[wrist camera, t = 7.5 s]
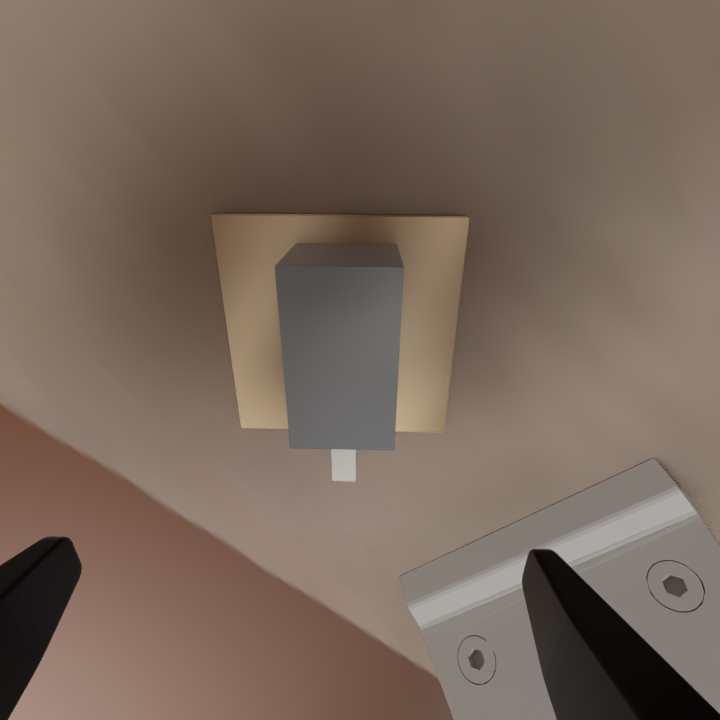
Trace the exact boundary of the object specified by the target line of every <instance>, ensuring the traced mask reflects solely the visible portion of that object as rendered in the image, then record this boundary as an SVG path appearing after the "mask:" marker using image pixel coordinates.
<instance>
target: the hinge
mask: <svg viewBox="0 0 720 720" xmlns="http://www.w3.org/2000/svg"><path fill="white" fill-rule="evenodd" d="M531 549H551V550H553V551H554V552H556V553H557V554H558V555H559V556H560V557H561V558H562V559H563V560H564V561H565V562H566V563H567V564H568V565H569V566H570V567H571V568H572V569H573V570H574V571H575V572H576V573H577V574H578V575H579V576H580V577H581V578H582V579H583V580H584V581H585V582H586V583H587V584H589V585H590V586H591V587H592V588H593V589H594V590H595V591H596V592H597V593H598V594H599V595H600V596H601V597H602V598H603V599H604V600H605V601H606V602H607V603H608V604H609V605H610V606H611V607H612V608H613V609H614V610H615V611H616V612H617V613H618V614H619V615H620V616H621V617H622V618H623V619H624V620H625V621H626V622H627V623H628V624H629V625H630V626H631V627H632V628H633V629H634V630H635V631H636V632H637V633H638V634H639V635H640V636H641V637H642V638H643V639H644V640H645V641H646V642H647V643H648V644H649V645H650V646H651V647H652V648H654V649H655V650H656V651H657V652H658V653H659V654H660V655H661V656H662V657H663V658H664V659H665V660H666V661H667V662H668V663H669V664H670V665H671V666H672V667H673V668H674V669H675V670H676V671H677V672H678V673H679V674H680V675H681V676H682V677H683V678H684V679H685V680H686V681H687V682H688V683H689V684H690V685H691V686H692V687H693V688H694V689H695V690H696V691H697V692H698V693H699V694H700V695H701V696H702V697H703V698H704V699H705V700H706V701H707V702H708V703H709V704H710V705H711V706H712V707H713V708H714V709H715V710H716V711H717V712H719V713H720V543H719V542H718V540H717V539H716V537H715V536H714V534H713V533H712V531H711V530H710V528H709V527H708V525H707V524H706V522H705V520H704V519H703V517H702V516H701V514H700V513H699V511H698V510H697V508H696V507H695V505H694V504H693V502H692V501H691V499H690V498H689V496H688V495H687V494H686V493H685V492H684V491H683V490H682V489H681V488H680V487H679V486H678V485H677V484H676V483H675V482H674V481H673V479H672V478H671V477H670V476H669V475H668V473H667V472H666V471H665V470H664V469H663V468H662V466H661V465H660V464H659V463H658V462H657V461H656V460H655V459H654V458H652V459H650V460H648V461H646V462H644V463H642V464H640V465H637V466H635V467H633V468H631V469H629V470H627V471H625V472H622V473H620V474H618V475H616V476H614V477H612V478H609V479H607V480H605V481H603V482H601V483H599V484H597V485H594V486H592V487H590V488H588V489H586V490H584V491H582V492H579V493H577V494H575V495H573V496H571V497H569V498H567V499H564V500H562V501H560V502H558V503H556V504H554V505H552V506H549V507H547V508H545V509H543V510H541V511H539V512H536V513H534V514H532V515H530V516H528V517H526V518H524V519H521V520H519V521H517V522H515V523H513V524H511V525H509V526H506V527H504V528H502V529H500V530H498V531H496V532H494V533H491V534H489V535H487V536H485V537H483V538H481V539H479V540H476V541H474V542H472V543H470V544H468V545H466V546H463V547H461V548H459V549H457V550H455V551H453V552H451V553H448V554H446V555H444V556H442V557H440V558H438V559H436V560H433V561H431V562H429V563H427V564H425V565H423V566H421V567H418V568H416V569H414V570H412V571H410V572H408V573H406V574H403V575H401V576H400V579H401V583H402V587H403V592H404V596H405V600H406V603H407V606H408V608H409V610H410V612H411V613H412V615H413V617H414V618H415V620H416V622H417V623H418V625H419V627H420V629H421V632H422V634H423V637H424V640H425V642H426V645H427V648H428V651H429V653H430V656H431V659H432V661H433V664H434V667H435V670H436V672H437V675H438V678H439V681H440V683H441V686H442V689H443V691H444V694H445V697H446V699H447V702H448V705H449V708H450V710H451V713H452V716H453V719H454V720H557V719H556V716H555V713H554V710H553V707H552V704H551V701H550V698H549V695H548V692H547V688H546V685H545V682H544V678H543V674H542V670H541V666H540V662H539V658H538V654H537V649H536V645H535V641H534V636H533V632H532V628H531V623H530V619H529V615H528V610H527V606H526V601H525V597H524V593H523V588H522V576H523V572H524V568H525V564H526V560H527V557H528V553H529V551H530V550H531Z"/></svg>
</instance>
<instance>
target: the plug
mask: <svg viewBox="0 0 720 720" xmlns="http://www.w3.org/2000/svg"><path fill="white" fill-rule="evenodd" d="M275 277H276V289H277V300H278V312H279V324H280V335H281V347H282V359H283V371H284V382H285V394H286V406H287V418H288V429H289V441H290V448H301V449H331V454H332V481H356V467H357V450H394V448H395V429H396V410H397V391H398V372H399V353H400V334H401V315H402V296H403V277H404V266H403V263H402V259H401V256H400V253H399V249H398V246H397V244H340V243H296V244H295V245H294V246H293V247H292V248H291V249H290V250H289V251H288V252H287V253H286V254H285V256H284V257H283V258H282V259H281V260H280V261H279V262H278V263H277V264H276V265H275Z"/></svg>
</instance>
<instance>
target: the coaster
mask: <svg viewBox="0 0 720 720" xmlns="http://www.w3.org/2000/svg"><path fill="white" fill-rule="evenodd" d="M211 221H212V228H213V235H214V242H215V248H216V255H217V262H218V269H219V276H220V283H221V290H222V297H223V304H224V311H225V318H226V325H227V332H228V339H229V346H230V353H231V360H232V367H233V374H234V381H235V388H236V395H237V402H238V409H239V416H240V423H241V428H263V429H288V418H287V406H286V394H285V382H284V371H283V359H282V347H281V335H280V324H279V312H278V300H277V289H276V277H275V265H276V264H277V263H278V262H279V261H280V260H281V259H282V258H283V257H284V256H285V254H286V253H287V252H288V251H289V250H290V249H291V248H292V247H293V246H294V245H295V244H296V243H340V244H397V246H398V249H399V253H400V256H401V259H402V263H403V266H404V277H403V296H402V315H401V334H400V353H399V372H398V391H397V410H396V429H395V431H399V432H444V429H445V421H446V412H447V404H448V395H449V387H450V378H451V370H452V362H453V353H454V345H455V336H456V328H457V319H458V311H459V303H460V294H461V286H462V277H463V269H464V260H465V252H466V243H467V235H468V227H469V217H467V216H418V215H331V214H243V213H215V214H212V215H211Z"/></svg>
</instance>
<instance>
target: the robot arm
mask: <svg viewBox="0 0 720 720" xmlns="http://www.w3.org/2000/svg"><path fill="white" fill-rule="evenodd" d="M81 569H82V566H81V562H80V559H79V557H78V555H77V552H76V550H75V548H74V545H73V543H72V541H71V540H70V539H69V538H68V537H55V536H51V537H45V538H43V539H41V540H39V541H38V542H36V543H35V544H33V545H31V546H30V547H29V548H27V549H25V550H24V551H22V552H20V553H19V554H18V555H16V556H14V557H13V558H11V559H10V560H8V561H7V562H5V563H3V564H2V565H0V720H8V719H9V717H10V715H11V713H12V712H13V710H14V708H15V706H16V705H17V703H18V701H19V699H20V697H21V696H22V694H23V692H24V690H25V689H26V687H27V685H28V683H29V682H30V680H31V678H32V676H33V674H34V673H35V671H36V669H37V667H38V665H39V663H40V661H41V659H42V657H43V655H44V653H45V651H46V649H47V647H48V645H49V643H50V640H51V639H52V636H53V634H54V632H55V630H56V628H57V626H58V623H59V621H60V619H61V617H62V615H63V612H64V610H65V608H66V606H67V604H68V602H69V600H70V598H71V595H72V593H73V591H74V589H75V587H76V585H77V582H78V580H79V578H80V575H81ZM522 588H523V593H524V597H525V601H526V606H527V610H528V615H529V619H530V623H531V628H532V632H533V636H534V641H535V645H536V649H537V654H538V658H539V662H540V666H541V670H542V674H543V678H544V682H545V685H546V688H547V692H548V695H549V698H550V701H551V704H552V707H553V710H554V713H555V716H556V719H557V720H720V713H719V712H717V711H716V710H715V709H714V708H713V707H712V706H711V705H710V704H709V703H708V702H707V701H706V700H705V699H704V698H703V697H702V696H701V695H700V694H699V693H698V692H697V691H696V690H695V689H694V688H693V687H692V686H691V685H690V684H689V683H688V682H687V681H686V680H685V679H684V678H683V677H682V676H681V675H680V674H679V673H678V672H677V671H676V670H675V669H674V668H673V667H672V666H671V665H670V664H669V663H668V662H667V661H666V660H665V659H664V658H663V657H662V656H661V655H660V654H659V653H658V652H657V651H656V650H655V649H654V648H652V647H651V646H650V645H649V644H648V643H647V642H646V641H645V640H644V639H643V638H642V637H641V636H640V635H639V634H638V633H637V632H636V631H635V630H634V629H633V628H632V627H631V626H630V625H629V624H628V623H627V622H626V621H625V620H624V619H623V618H622V617H621V616H620V615H619V614H618V613H617V612H616V611H615V610H614V609H613V608H612V607H611V606H610V605H609V604H608V603H607V602H606V601H605V600H604V599H603V598H602V597H601V596H600V595H599V594H598V593H597V592H596V591H595V590H594V589H593V588H592V587H591V586H590V585H589V584H587V583H586V582H585V581H584V580H583V579H582V578H581V577H580V576H579V575H578V574H577V573H576V572H575V571H574V570H573V569H572V568H571V567H570V566H569V565H568V564H567V563H566V562H565V561H564V560H563V559H562V558H561V557H560V556H559V555H558V554H557V553H556V552H554V551H553V550H551V549H531V550H530V551H529V553H528V557H527V560H526V564H525V568H524V572H523V576H522Z"/></svg>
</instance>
